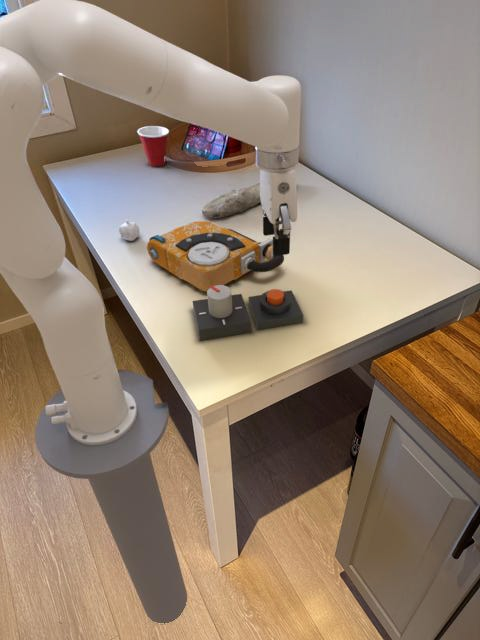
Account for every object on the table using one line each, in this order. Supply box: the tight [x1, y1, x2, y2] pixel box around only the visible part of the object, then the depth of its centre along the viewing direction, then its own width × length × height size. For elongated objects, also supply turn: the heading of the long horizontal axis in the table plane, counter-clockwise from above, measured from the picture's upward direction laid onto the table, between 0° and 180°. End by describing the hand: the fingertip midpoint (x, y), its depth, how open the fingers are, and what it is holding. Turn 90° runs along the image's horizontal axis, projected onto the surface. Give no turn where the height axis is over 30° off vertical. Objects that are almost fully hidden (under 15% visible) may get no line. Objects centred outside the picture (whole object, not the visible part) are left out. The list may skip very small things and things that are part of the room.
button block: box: [248, 289, 304, 330], centre depth 106 cm, size 10×9×4 cm
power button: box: [266, 288, 284, 305], centre depth 104 cm, size 4×4×2 cm
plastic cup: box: [136, 125, 170, 168], centre depth 171 cm, size 11×11×12 cm
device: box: [146, 219, 285, 292], centre depth 119 cm, size 23×8×30 cm
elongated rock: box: [201, 182, 261, 219], centre depth 148 cm, size 35×5×10 cm
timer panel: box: [192, 293, 252, 341], centre depth 104 cm, size 11×10×3 cm
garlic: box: [118, 219, 140, 242], centre depth 133 cm, size 6×5×5 cm
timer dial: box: [206, 285, 233, 318], centre depth 102 cm, size 5×5×5 cm
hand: (275, 243), depth 96 cm, fingers open, 7 cm apart
